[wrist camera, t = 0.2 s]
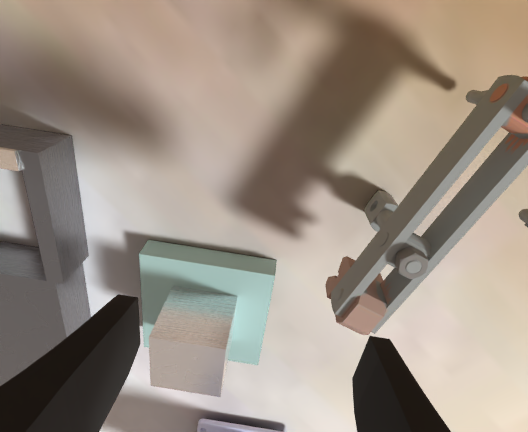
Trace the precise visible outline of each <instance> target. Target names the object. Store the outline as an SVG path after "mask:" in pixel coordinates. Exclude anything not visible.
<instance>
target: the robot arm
mask: <svg viewBox="0 0 528 432" xmlns="http://www.w3.org/2000/svg"><path fill="white" fill-rule="evenodd" d="M139 346H140V327H139V307H138V298H137V297H131V296H125V295H117V296H116V297H114V298H113V299H112V300H111V301H110V302H108V303H107V304H106V305H105V306H104V307H103V308H101V309H100V310H99V311H98V312H97V313H96V314H94V315H93V316H92V317H91V318H90V319H88V320H87V321H86V322H85V323H84V324H82V325H81V326H80V327H79V328H78V329H76V330H75V331H74V332H73V333H71V334H70V335H69V336H68V337H66V338H65V339H64V340H63V341H61V342H60V343H59V344H58V345H56V346H55V347H54V348H53V349H51V350H50V351H49V352H47V353H46V354H45V355H43V356H42V357H40V358H39V359H38V360H36V361H35V362H34V363H32V364H31V365H30V366H28V367H27V368H26V369H24V370H23V371H21V372H20V373H19V374H17V375H16V376H14V377H13V378H11V379H10V380H8V381H7V382H6V383H4V384H3V385H1V386H0V432H99V431H100V429H101V427H102V425H103V423H104V421H105V419H106V417H107V415H108V413H109V411H110V410H111V408H112V406H113V404H114V402H115V400H116V398H117V396H118V394H119V392H120V390H121V388H122V386H123V384H124V382H125V380H126V378H127V377H128V374H129V372H130V369H131V367H132V364H133V362H134V359H135V356H136V354H137V351H138V348H139ZM352 380H353V400H354V414H355V420H356V426H357V432H451V431H450V430H449V428H448V427H447V425H446V424H445V423H444V421H443V420H442V418H441V417H440V416H439V414H438V413H437V411H436V410H435V408H434V407H433V405H432V404H431V402H430V401H429V399H428V398H427V397H426V395H425V394H424V392H423V391H422V389H421V388H420V386H419V384H418V383H417V381H416V380H415V378H414V377H413V375H412V374H411V372H410V370H409V369H408V367H407V366H406V364H405V363H404V361H403V359H402V358H401V356H400V355H399V353H398V351H397V350H396V348H395V347H394V345H393V344H392V342H391V341H390V339H385V338H379V337H373V336H370V337H369V339H368V342H367V344H366V347H365V349H364V352H363V354H362V356H361V359H360V361H359V364H358V366H357V369H356V371H355V374H354V376H353V378H352ZM197 432H282V431H276V430H270V429H264V428H258V427H252V426H246V425H240V424H234V423H228V422H222V421H216V420H209V419H200V420H199V422H198V428H197Z"/></svg>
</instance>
